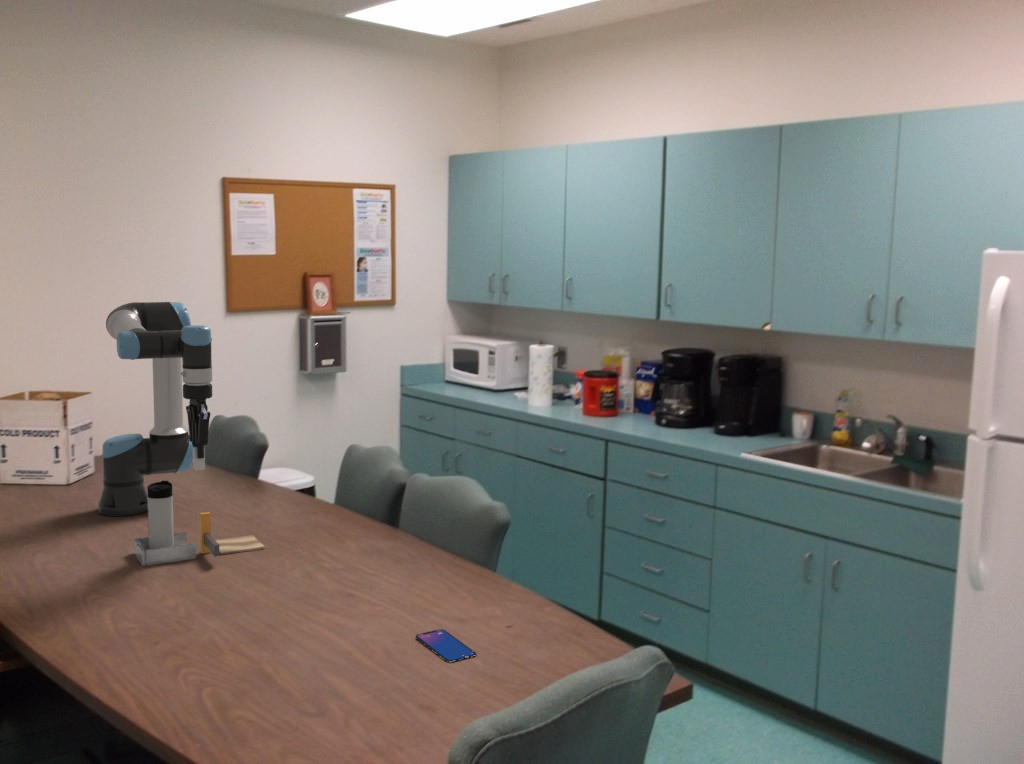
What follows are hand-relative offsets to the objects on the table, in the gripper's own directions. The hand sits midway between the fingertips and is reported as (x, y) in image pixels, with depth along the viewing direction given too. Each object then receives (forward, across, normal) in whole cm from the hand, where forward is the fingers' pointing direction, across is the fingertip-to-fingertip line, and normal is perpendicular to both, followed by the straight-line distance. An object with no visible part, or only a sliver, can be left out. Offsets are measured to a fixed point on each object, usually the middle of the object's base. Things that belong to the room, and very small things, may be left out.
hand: (199, 469), depth 256 cm
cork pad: (+22, +3, +9) cm, 24 cm away
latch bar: (+22, +10, 0) cm, 24 cm away
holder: (+22, +1, -11) cm, 25 cm away
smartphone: (+23, +91, +22) cm, 96 cm away
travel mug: (+23, +1, -11) cm, 25 cm away
